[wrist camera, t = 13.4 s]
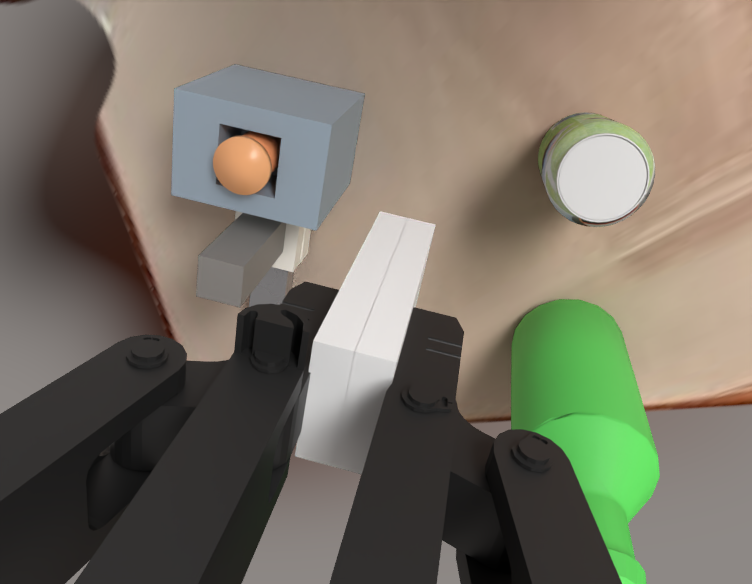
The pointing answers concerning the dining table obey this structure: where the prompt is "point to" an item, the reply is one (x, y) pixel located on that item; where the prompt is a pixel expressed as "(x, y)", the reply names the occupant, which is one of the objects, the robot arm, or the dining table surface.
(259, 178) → the plunger
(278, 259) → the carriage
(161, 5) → the dining table surface
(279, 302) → the rail
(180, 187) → the housing
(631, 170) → the beverage can
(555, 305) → the bottle
